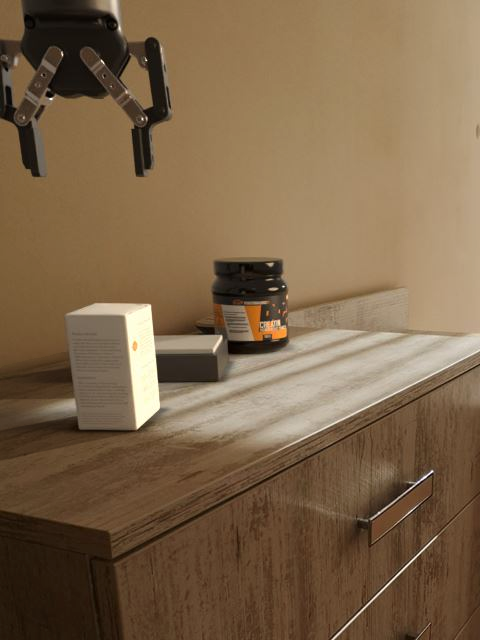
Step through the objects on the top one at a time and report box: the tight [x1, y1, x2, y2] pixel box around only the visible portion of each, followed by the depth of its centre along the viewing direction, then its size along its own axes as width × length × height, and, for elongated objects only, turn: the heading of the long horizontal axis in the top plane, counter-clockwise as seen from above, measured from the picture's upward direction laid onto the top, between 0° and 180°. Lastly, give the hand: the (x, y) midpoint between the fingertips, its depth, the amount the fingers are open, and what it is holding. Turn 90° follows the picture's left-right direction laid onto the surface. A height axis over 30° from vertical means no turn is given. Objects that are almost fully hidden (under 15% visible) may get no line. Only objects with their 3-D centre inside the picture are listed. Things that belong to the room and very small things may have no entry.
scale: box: [154, 334, 229, 383], centre depth 99 cm, size 15×12×4 cm
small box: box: [63, 302, 161, 431], centre depth 77 cm, size 8×6×10 cm
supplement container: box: [210, 256, 291, 354], centre depth 113 cm, size 10×10×12 cm
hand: (90, 177), depth 70 cm, fingers open, 8 cm apart
